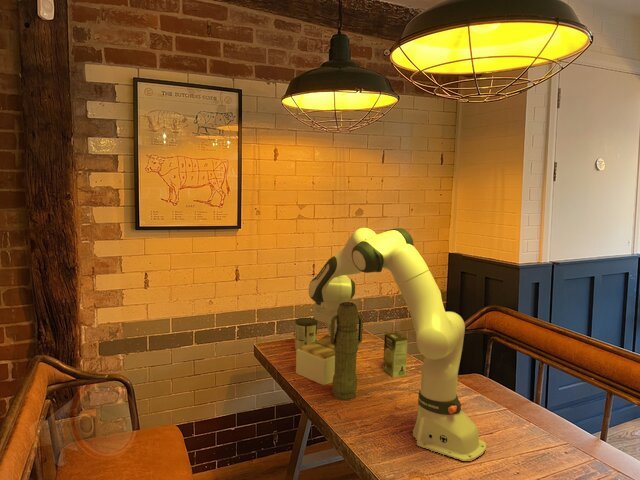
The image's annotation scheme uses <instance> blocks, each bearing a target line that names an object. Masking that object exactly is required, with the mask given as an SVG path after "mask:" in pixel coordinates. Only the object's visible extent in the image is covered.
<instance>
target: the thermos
mask: <svg viewBox="0 0 640 480" xmlns="http://www.w3.org/2000/svg"><path fill="white" fill-rule="evenodd" d="M358 311H359V310H358V308H357V305H356V304H355V303H354V302H351V301H345V302H343V303H341V304H340V305H339V307H338V310H337V315H335V316H334V317H333V318H332V320H331V335H330V336H331V344H332V345H334V350H335V373H334V376H333V382H332V396H334V397H335V398H334V397H333V398H334V399H336V398H337V399H336V400H339V399H340V400H339V401H352V400H354V399H355V398H357V397H356V396H357V390H358V389H357V387H358V386H357V385H358V379H357V375H356V374H357V353H358V350H359V345H360V344H361V343H362V341H363V327H364V326H363V325H364V319H363V318H362V317H361V316H360V314H359V312H358ZM336 319H337V328H336V333H335V336H334V328H335V320H336ZM351 399H352V400H351Z"/></svg>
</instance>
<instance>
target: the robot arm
mask: <svg viewBox="0 0 640 480" xmlns="http://www.w3.org/2000/svg"><path fill="white" fill-rule="evenodd" d="M383 269H387V270H388V271H390V273H391V274H392V276H393V279H394V281H395V283H396V285H397V287H398V289H399V291H400V294H401V295H402V297H403V300H404V301H405V303H406V306H407V308H408V310H409V314H410V317H411V321H412V325H413V328H414V331H415V337H416V347H417V349H418V351H419V352H420V354H421V355H422V356H423V357H424V359H423V362H422V365H421V374H420V386H419V387H420V390H419V391H418V397H417V404H418V411H417V415H416V416H417V417H416V421H415V423H414V427H413V429H412V432H413V433H412V437H413V438H414V437H415V438H416V439H415V438H414V439H415V441H416V440H417V441H416V442H417V443H416V446H417V445H418V446H421V447H424V448H426V449H430V450H432V451H435V452H438V453H441V454H444V455H448V456H451V457H455V458H458V459H460V460H463V461H468V460H472V459H475V458H477V457H478V456H480V455H481V454H482V453H483V452H484V451H485V449H486V450H487V443H486V442H485V441H484V440H482V439H480V434H479V429H478V426H477V425H476V424H475V422H473V421H472V420H471V418H470V417H469V416H468V414H466V412H464V410H463V409H462V406H464V403H465V400H461V401H460V400H459V397H458V395H457V391H458V377H459V370H460V363H461V359H462V352H463V347H464V338H465V333H466V332H465V331H466V323H465V321H464V319H463V317H462V316H461V315H460V314H458V313H456V312H455V311H446V310H445V307H444V303H443V299H442V292H441V289H440V288H439V286H438V284H437V282H436V280H435V279H434V278H435V277H434V276H433V274H432V272H431V270H429V269H430V268H429V267H428V265H427V263H426V261H425V260H424V258H423V257H422V255H421V254H420V253H419V251H418V250H417V249H416V247H415V243H414V239H413V237H412V235H411V233H410V232H408V230H406V229H404V228H402V227H399V228H397V227H396V228H391V229H387V230H384V231H383V232H381V233H376V232H375V231H374V230H372V229H370V228H369V227H360V228H358V229H355V231H354V232H353V233H352V234H351V235H350V237H349V238H348V239H347V242H346V243H345V245H344V247H343V248H342V249H341V250H340V251H339V252H337V254H335V255H333V256H332V257H330V258H328V260H327V261H326V263H325V264H324V265H323V267H322V268H321V269H320V271H319V272H318V273H317V275H316V276H315V277H314V278H312V279H311V281H310V282H309V285H308V295H309V298H310V299H311V300H312V301H313V302H314V307H313V318H314V319H315V320H317V321H319V322H321V323H324V324H326V327H327V330H328V335H329V336H331V320H332V318H333V317H334V316H335V315H337V310H338V307H339V305H340V304H341V303H343V302H349V301H351V300H352V299H353V297H354V296H355V294H356V283H355V281H354V280H353V279H352V278H351V277H349V276H350V275H356V274H361V273H366V274H371V273H381V272H382V270H383ZM348 275H349V276H348ZM336 328H337V319H336V320H335V328H334V337H335V333H336ZM418 446H417V447H418ZM426 449H425V450H426ZM432 451H431V452H432ZM435 452H434V453H435ZM485 452H486V451H485ZM438 453H437V454H438ZM441 454H440V455H441ZM444 455H443V456H444ZM470 457H471V458H470Z"/></svg>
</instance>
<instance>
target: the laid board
mask: <svg viewBox="0 0 640 480" xmlns="http://www.w3.org/2000/svg"><path fill="white" fill-rule="evenodd" d="M300 350H302V351H305V352H308V353H310V354H313V355H315V356H318V357H320V358H323V359H327V358H330V357H333V356H335V350H334V349H332V348H329V347H326V346H324V345H321V344H318V343H315V342H313V343H310V344H306V345H303V346H300Z"/></svg>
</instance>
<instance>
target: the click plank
mask: <svg viewBox="0 0 640 480" xmlns="http://www.w3.org/2000/svg"><path fill="white" fill-rule="evenodd" d="M315 343H318V344H321V345H324V346H326V347H329V348H332V349H334V345H332V344H331V335H330V334H326V335H323V336H322V337H321V338H319V339H317V341H316V342H315Z"/></svg>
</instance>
